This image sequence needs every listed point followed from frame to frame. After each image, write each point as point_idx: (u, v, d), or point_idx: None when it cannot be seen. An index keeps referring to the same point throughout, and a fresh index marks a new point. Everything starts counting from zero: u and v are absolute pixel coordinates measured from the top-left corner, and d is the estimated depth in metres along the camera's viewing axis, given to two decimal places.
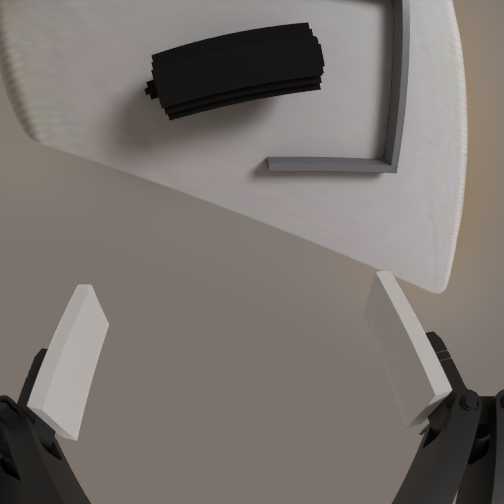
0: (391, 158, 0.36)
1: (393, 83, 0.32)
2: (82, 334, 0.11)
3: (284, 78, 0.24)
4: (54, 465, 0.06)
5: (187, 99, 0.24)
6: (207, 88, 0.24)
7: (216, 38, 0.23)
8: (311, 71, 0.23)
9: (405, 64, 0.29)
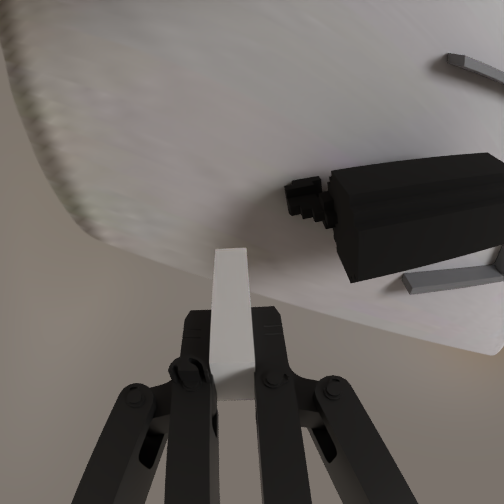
0: None
1: None
2: None
3: (487, 246, 0.18)
4: (213, 445, 0.08)
5: (392, 272, 0.19)
6: (418, 260, 0.18)
7: (435, 183, 0.17)
8: None
9: None
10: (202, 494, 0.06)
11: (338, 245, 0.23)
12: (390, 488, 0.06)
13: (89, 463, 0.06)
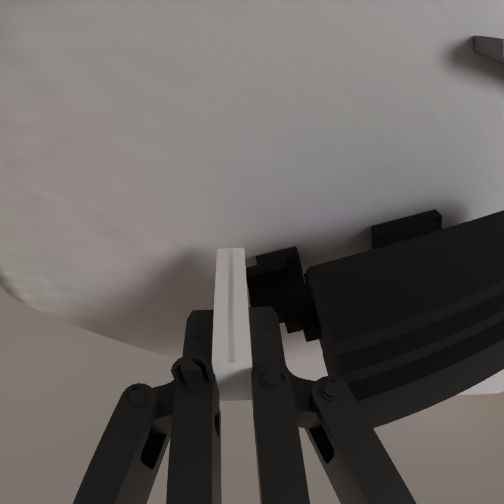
0: None
1: None
2: None
3: None
4: (215, 445, 0.08)
5: (399, 418, 0.11)
6: (440, 397, 0.10)
7: (486, 291, 0.09)
8: None
9: None
10: (204, 494, 0.06)
11: (324, 357, 0.15)
12: (388, 488, 0.06)
13: (91, 463, 0.06)
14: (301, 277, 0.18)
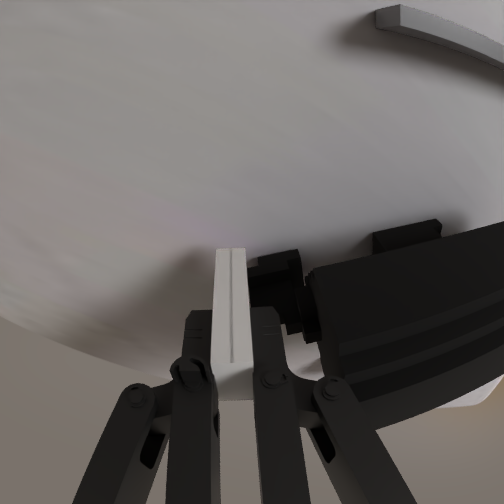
0: None
1: None
2: None
3: None
4: (214, 445, 0.08)
5: (396, 422, 0.11)
6: (437, 402, 0.10)
7: (486, 298, 0.09)
8: None
9: None
10: (203, 494, 0.06)
11: (322, 360, 0.15)
12: (389, 488, 0.06)
13: (90, 463, 0.06)
14: (301, 280, 0.18)
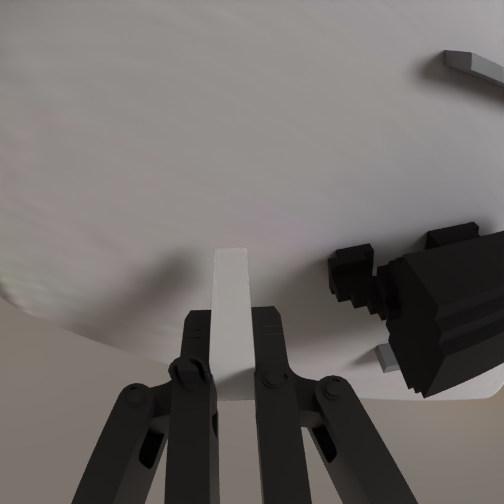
0: None
1: None
2: None
3: None
4: (213, 445, 0.08)
5: (461, 382, 0.12)
6: (490, 365, 0.12)
7: None
8: None
9: None
10: (202, 494, 0.06)
11: (393, 338, 0.17)
12: (390, 488, 0.06)
13: (89, 463, 0.06)
14: (371, 270, 0.20)
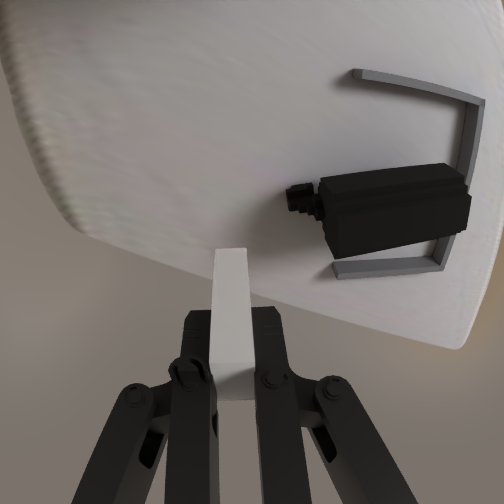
0: (441, 259, 0.38)
1: None
2: None
3: (441, 233, 0.26)
4: (213, 445, 0.08)
5: (364, 249, 0.27)
6: (383, 241, 0.26)
7: (395, 186, 0.25)
8: (460, 227, 0.26)
9: (470, 175, 0.31)
10: (202, 494, 0.06)
11: (326, 233, 0.31)
12: (390, 488, 0.06)
13: (89, 463, 0.06)
14: None
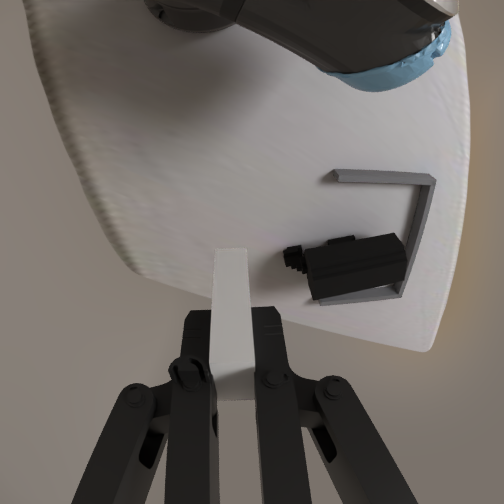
0: (399, 290, 0.55)
1: (409, 242, 0.51)
2: None
3: (384, 284, 0.44)
4: (213, 445, 0.08)
5: (330, 296, 0.44)
6: (343, 291, 0.44)
7: (352, 258, 0.42)
8: (399, 279, 0.43)
9: (420, 234, 0.48)
10: (202, 494, 0.06)
11: (308, 281, 0.48)
12: (390, 488, 0.06)
13: (89, 463, 0.06)
14: (301, 255, 0.51)
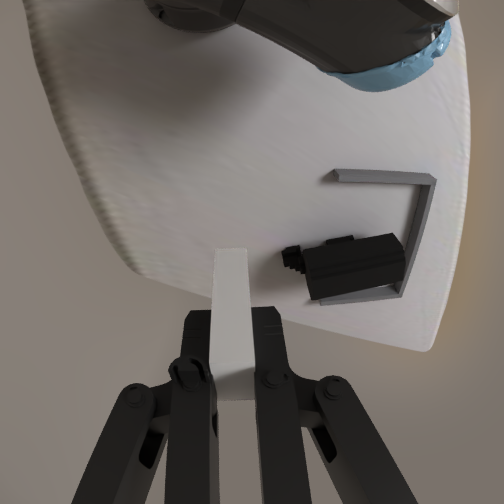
0: (399, 289, 0.55)
1: (409, 241, 0.51)
2: None
3: (383, 284, 0.44)
4: (213, 445, 0.08)
5: (329, 296, 0.44)
6: (341, 291, 0.44)
7: (350, 258, 0.42)
8: (398, 279, 0.43)
9: (420, 234, 0.48)
10: (202, 494, 0.06)
11: (307, 281, 0.48)
12: (390, 488, 0.06)
13: (89, 463, 0.06)
14: (300, 256, 0.51)
